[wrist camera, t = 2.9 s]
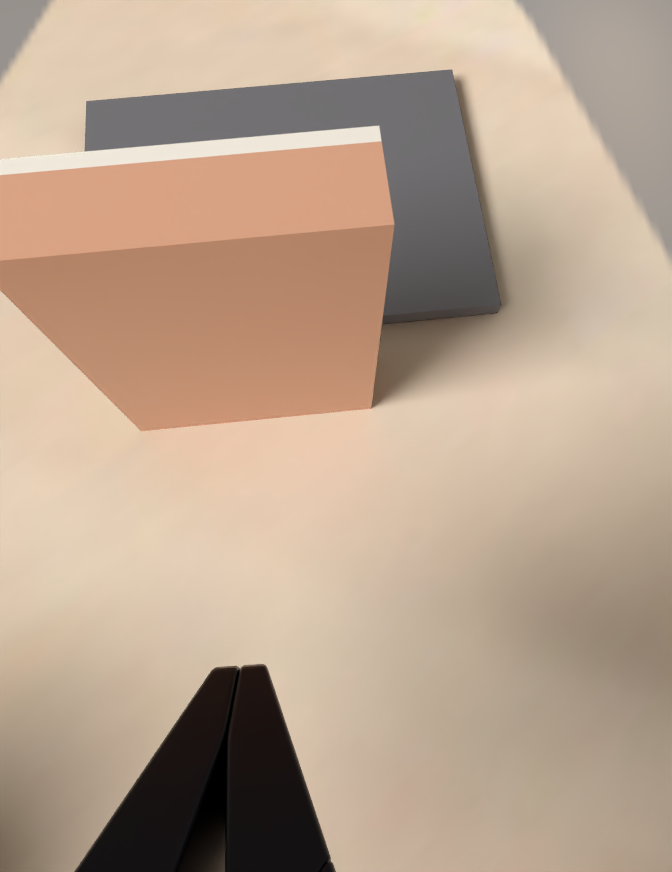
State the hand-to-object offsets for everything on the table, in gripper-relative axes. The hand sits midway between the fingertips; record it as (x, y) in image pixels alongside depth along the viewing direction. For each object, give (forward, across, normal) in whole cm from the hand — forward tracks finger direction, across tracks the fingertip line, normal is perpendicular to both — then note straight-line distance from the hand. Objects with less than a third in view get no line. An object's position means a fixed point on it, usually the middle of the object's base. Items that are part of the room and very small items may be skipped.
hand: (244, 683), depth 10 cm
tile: (+13, +1, 0) cm, 13 cm away
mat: (+18, 0, -5) cm, 19 cm away
